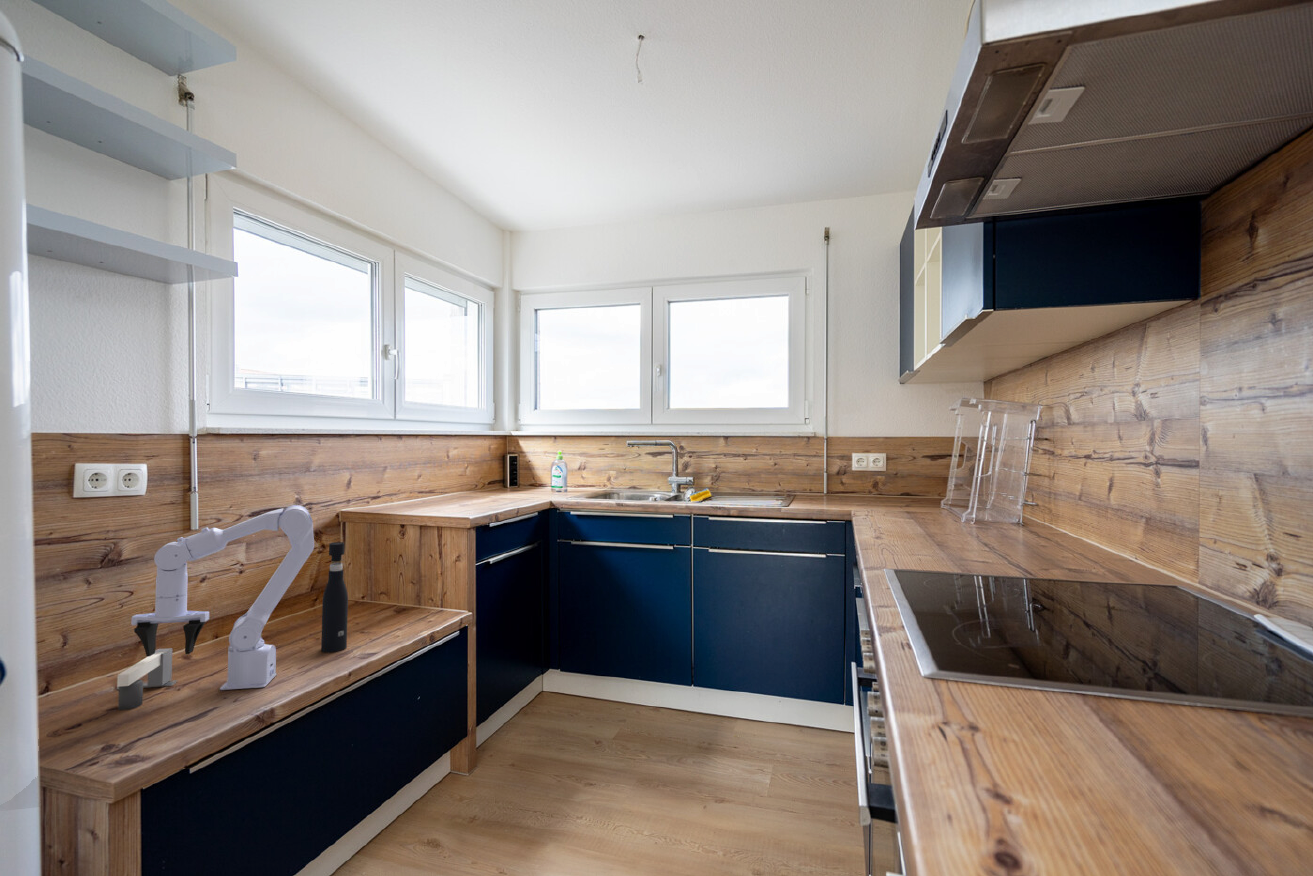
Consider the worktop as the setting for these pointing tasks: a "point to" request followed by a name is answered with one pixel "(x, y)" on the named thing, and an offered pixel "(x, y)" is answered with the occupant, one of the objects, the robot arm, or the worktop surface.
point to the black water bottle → (335, 604)
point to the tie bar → (150, 669)
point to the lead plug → (131, 695)
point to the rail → (158, 686)
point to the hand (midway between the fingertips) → (170, 653)
